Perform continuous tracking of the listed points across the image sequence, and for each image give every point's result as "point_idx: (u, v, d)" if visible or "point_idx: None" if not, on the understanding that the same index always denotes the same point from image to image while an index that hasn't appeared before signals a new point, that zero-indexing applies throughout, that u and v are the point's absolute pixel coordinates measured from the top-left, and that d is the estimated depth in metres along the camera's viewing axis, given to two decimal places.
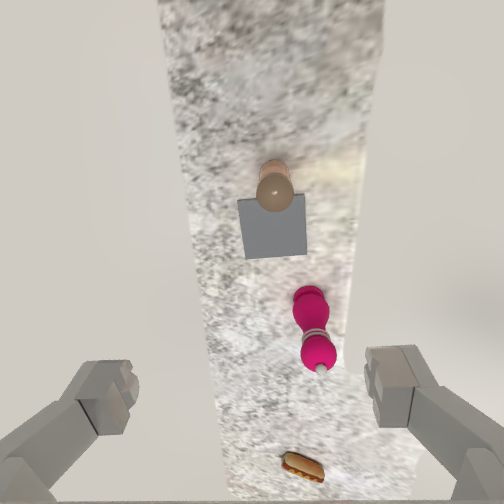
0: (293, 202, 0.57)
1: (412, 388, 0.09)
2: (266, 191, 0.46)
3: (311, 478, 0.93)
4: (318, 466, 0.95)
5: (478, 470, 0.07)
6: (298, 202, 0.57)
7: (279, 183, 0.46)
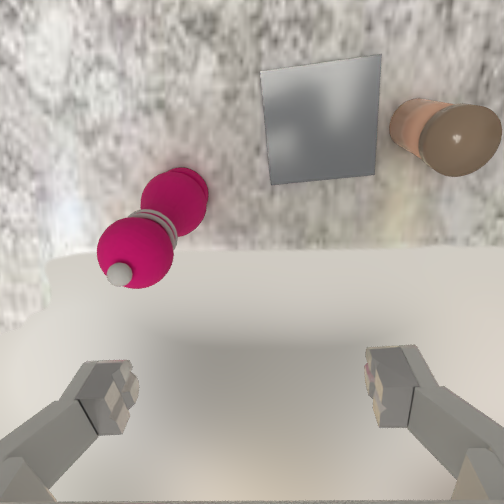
0: (364, 158, 0.36)
1: (412, 388, 0.09)
2: (475, 126, 0.25)
3: None
4: None
5: (478, 470, 0.07)
6: (363, 166, 0.37)
7: (483, 150, 0.26)
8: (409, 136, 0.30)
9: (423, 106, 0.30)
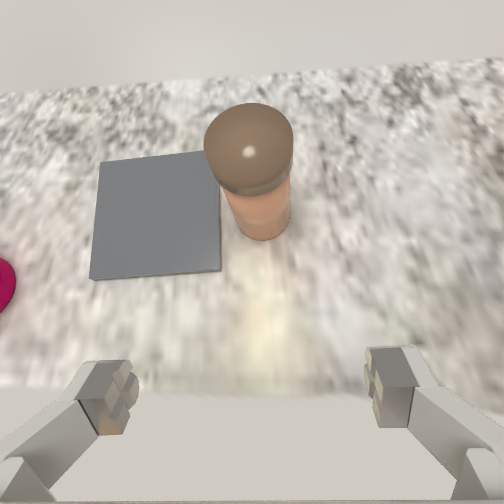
0: (206, 248, 0.29)
1: (412, 388, 0.09)
2: (256, 122, 0.20)
3: None
4: None
5: (478, 470, 0.07)
6: (205, 257, 0.28)
7: (275, 147, 0.19)
8: None
9: None
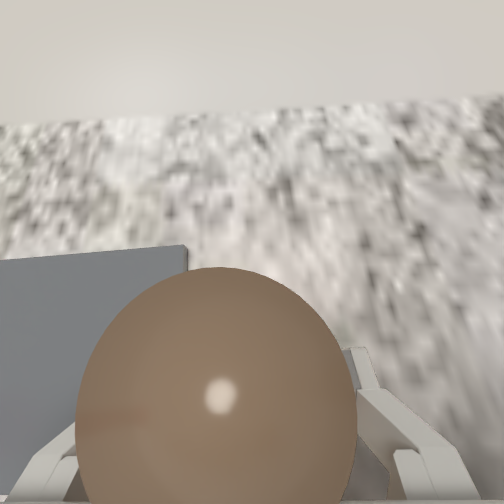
0: None
1: (356, 390, 0.09)
2: (237, 338, 0.06)
3: None
4: None
5: (402, 471, 0.07)
6: None
7: (299, 447, 0.06)
8: None
9: None
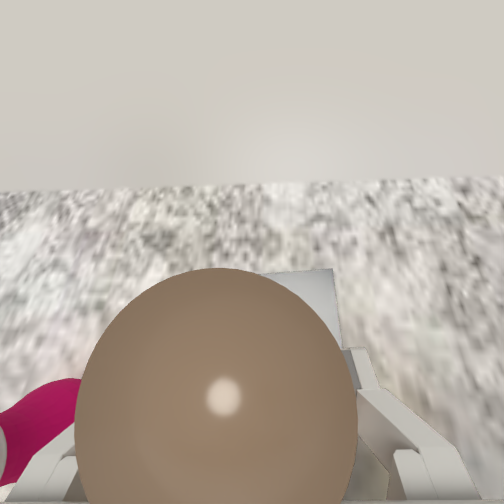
0: None
1: (356, 390, 0.09)
2: (237, 339, 0.06)
3: None
4: None
5: (402, 471, 0.07)
6: None
7: (299, 448, 0.06)
8: None
9: None
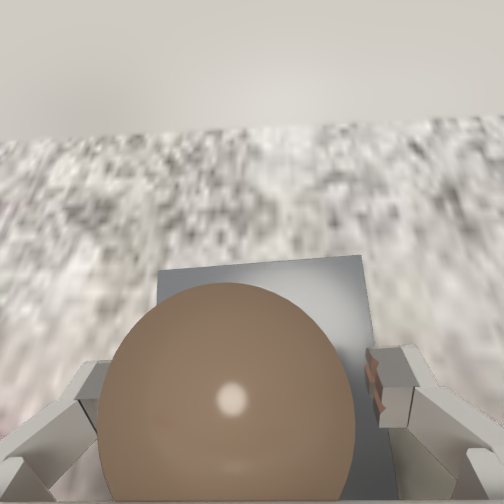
0: (366, 455, 0.16)
1: (412, 388, 0.09)
2: (245, 349, 0.07)
3: None
4: None
5: (478, 470, 0.07)
6: (368, 476, 0.15)
7: (302, 448, 0.06)
8: None
9: None
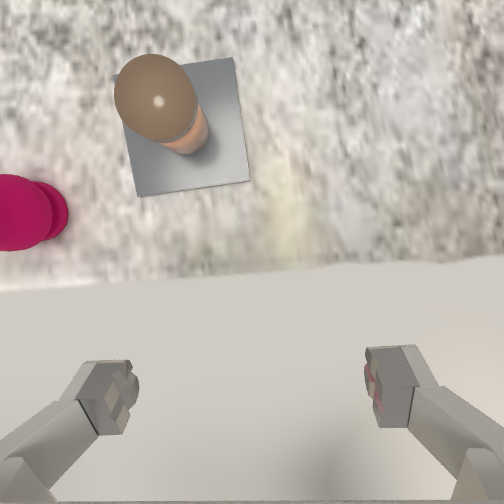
0: (236, 162, 0.33)
1: (412, 388, 0.09)
2: (158, 77, 0.22)
3: None
4: None
5: (478, 470, 0.07)
6: (236, 171, 0.34)
7: (179, 104, 0.22)
8: None
9: None
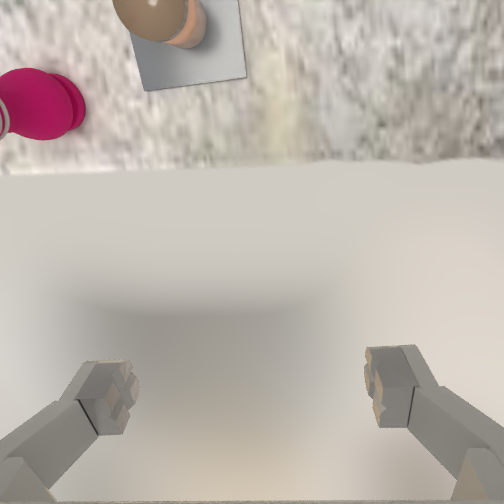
0: (233, 58, 0.35)
1: (412, 388, 0.09)
2: None
3: None
4: None
5: (478, 470, 0.07)
6: (233, 67, 0.36)
7: (169, 5, 0.24)
8: None
9: None
